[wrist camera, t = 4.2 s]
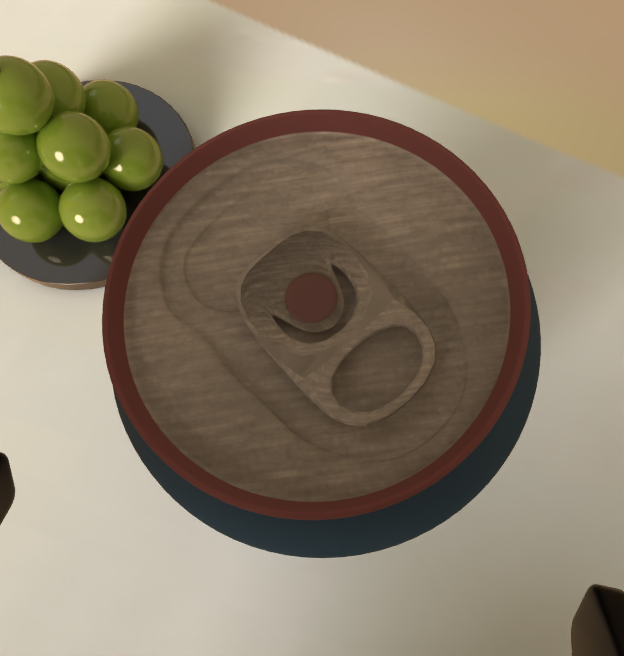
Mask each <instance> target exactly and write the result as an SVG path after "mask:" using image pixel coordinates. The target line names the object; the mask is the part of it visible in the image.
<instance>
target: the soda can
mask: <svg viewBox="0 0 624 656" xmlns="http://www.w3.org/2000/svg"><path fill="white" fill-rule="evenodd" d="M102 334H103V345H104V352H105V358H106V363H107V368H108V371H109V375H110V378H111V382H112V384H113V389H114V395H115V400H116V403H117V407H118V411H119V414H120V417H121V420H122V422H123V425H124V428H125V430H126V432H127V434H128V436H129V439H130V441H131V443H132V445H133V447H134V448H135V450H136V452H137V453H138V455H139V457H140V458H141V460H142V462H143V463H144V464H145V466H146V467H147V469H148V470H149V471H150V473H151V474H152V476H153V477H154V478H155V479H156V480H157V481H158V483H159V484H160V485H161V486H162V487H163V489H164V490H165V491H166V492H167V493H168V494H169V495H170V496H171V497H172V498H173V499H174V500H175V501H176V502H178V503H179V504H180V505H181V506H182V507H183V508H185V509H186V510H187V511H188V512H189V513H191V514H192V515H193V516H195V517H196V518H198V519H199V520H200V521H202V522H203V523H205V524H206V525H208V526H210V527H211V528H213V529H215V530H216V531H218V532H220V533H222V534H224V535H226V536H228V537H230V538H232V539H234V540H237V541H239V542H242V543H244V544H247V545H250V546H252V547H256V548H259V549H262V550H266V551H269V552H274V553H279V554H284V555H290V556H298V557H310V558H334V557H347V556H354V555H361V554H366V553H370V552H375V551H379V550H383V549H386V548H389V547H392V546H396V545H398V544H401V543H403V542H406V541H408V540H411V539H413V538H415V537H417V536H419V535H421V534H423V533H425V532H427V531H429V530H431V529H433V528H434V527H436V526H438V525H439V524H441V523H443V522H444V521H446V520H447V519H449V518H450V517H451V516H453V515H454V514H455V513H457V512H458V511H459V510H461V509H462V508H463V507H464V506H466V505H467V504H468V503H469V502H470V501H471V500H472V499H473V498H475V497H476V496H477V495H478V494H479V493H480V492H481V490H482V489H483V488H484V487H485V486H486V485H487V484H488V483H489V482H490V481H491V479H492V478H493V477H494V476H495V474H496V473H497V472H498V471H499V470H500V468H501V467H502V465H503V464H504V462H505V461H506V459H507V458H508V456H509V455H510V453H511V451H512V449H513V448H514V446H515V444H516V442H517V441H518V439H519V437H520V434H521V432H522V430H523V428H524V426H525V423H526V421H527V418H528V415H529V412H530V409H531V407H532V403H533V399H534V395H535V391H536V387H537V381H538V375H539V367H540V356H541V336H540V323H539V316H538V310H537V304H536V300H535V296H534V292H533V288H532V285H531V282H530V279H529V276H528V274H527V269H526V265H525V261H524V257H523V253H522V250H521V247H520V244H519V241H518V239H517V236H516V234H515V232H514V229H513V227H512V225H511V223H510V221H509V219H508V217H507V215H506V214H505V212H504V210H503V208H502V207H501V205H500V204H499V202H498V201H497V199H496V198H495V196H494V195H493V194H492V192H491V191H490V190H489V188H488V187H487V186H486V185H485V183H484V182H483V181H482V180H481V179H480V178H479V177H478V176H477V174H476V173H475V172H474V171H473V170H472V169H470V168H469V167H468V166H467V165H466V164H465V163H464V162H463V161H462V160H461V159H459V158H458V157H457V156H456V155H454V154H453V153H452V152H451V151H449V150H448V149H446V148H445V147H443V146H442V145H441V144H439V143H438V142H436V141H434V140H432V139H431V138H429V137H427V136H426V135H424V134H422V133H420V132H418V131H416V130H414V129H411V128H409V127H407V126H404V125H402V124H399V123H397V122H394V121H390V120H387V119H384V118H381V117H377V116H373V115H369V114H363V113H358V112H351V111H342V110H302V111H292V112H286V113H280V114H275V115H271V116H267V117H263V118H259V119H256V120H253V121H250V122H247V123H244V124H242V125H239V126H236V127H234V128H232V129H230V130H227V131H225V132H223V133H221V134H219V135H217V136H215V137H214V138H212V139H210V140H208V141H206V142H205V143H203V144H202V145H200V146H199V147H197V148H195V149H194V150H193V151H191V152H190V153H189V154H187V155H186V156H185V157H183V158H182V159H181V160H179V161H178V162H177V163H176V164H175V165H174V166H173V167H171V168H170V169H169V170H168V171H167V172H166V173H165V174H164V175H163V176H162V177H161V178H160V179H159V180H158V181H157V182H156V184H155V185H154V186H153V187H152V188H151V189H150V190H149V192H148V193H147V194H146V196H145V197H144V198H143V200H142V201H141V202H140V204H139V205H138V207H137V208H136V210H135V211H134V213H133V214H132V216H131V218H130V220H129V221H128V223H127V225H126V227H125V229H124V231H123V233H122V235H121V237H120V239H119V242H118V244H117V247H116V249H115V252H114V255H113V258H112V261H111V265H110V268H109V271H108V276H107V281H106V286H105V292H104V300H103V314H102Z"/></svg>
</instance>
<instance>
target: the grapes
mask: <svg viewBox="0 0 624 656" xmlns="http://www.w3.org/2000/svg"><path fill="white" fill-rule="evenodd" d="M195 148H196V146H195V143H194V141H193V139H192V137H191V134H190V132H189V130H188V128H187V126H186V124H185V123H184V121H183V120H182V118H181V117H180V115H179V114H178V113H177V112H176V111H175V110H174V109H173V108H172V106H171V105H169V104H168V103H167V102H166V101H164V100H163V99H162V98H161V97H159V96H157V95H156V94H154V93H152V92H151V91H149V90H146V89H144V88H142V87H139V86H136V85H133V84H129V83H125V82H119V81H112V80H106V79H101V80H95V81H84V82H80V80H79V78H78V77H77V76H76V75H75V74H74V73H73V72H72V71H71V70H70V69H69V68H67V67H66V66H64V65H62V64H60V63H57V62H54V61H49V60H38V61H34V62H31V63H30V62H29V61H27V60H25V59H22V58H19V57H16V56H9V55H4V56H0V259H1V260H2V261H3V262H4V263H5V264H6V265H8V266H9V267H10V268H12V269H13V270H14V271H16V272H18V273H19V274H21V275H22V276H24V277H26V278H28V279H30V280H32V281H34V282H36V283H39V284H42V285H45V286H48V287H53V288H58V289H67V290H84V289H94V288H99V287H104V286H106V281H107V276H108V271H109V268H110V265H111V261H112V258H113V255H114V252H115V249H116V247H117V244H118V242H119V239H120V237H121V235H122V233H123V231H124V229H125V227H126V225H127V223H128V221H129V220H130V218H131V216H132V214H133V213H134V211H135V210H136V208H137V207H138V205H139V204H140V202H141V201H142V200H143V198H144V197H145V196H146V194H147V193H148V192H149V190H150V189H151V188H152V187H153V186H154V185H155V184H156V182H157V181H158V180H159V179H160V178H161V177H162V176H163V175H164V174H165V173H166V172H167V171H168V170H169V169H170V168H171V167H173V166H174V165H175V164H176V163H177V162H178V161H179V160H181V159H182V158H183V157H185V156H186V155H187V154H189V153H190V152H191V151H193V150H194V149H195Z"/></svg>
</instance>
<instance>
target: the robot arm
mask: <svg viewBox="0 0 624 656" xmlns="http://www.w3.org/2000/svg"><path fill="white" fill-rule="evenodd" d="M14 497H15V486H14V482H13V477H12V473H11V469H10V464H9V460H8V458H7V456H6V455H5V454H4V453H1V452H0V525H1V523H2V521H3V519H4V518H5V516H6V514H7V512H8V511H9V509H10V507H11V505H12V503H13V500H14ZM571 644H572V656H624V592H623V591H622V590H620V589H616V588H612V587H607V586H603V585H598V584H594V585H592V586H590V587H589V589H588V590H587V592H586V594H585V596H584V598H583V600H582V602H581V604H580V606H579V608H578V610H577V612H576V614H575V616H574V619H573V622H572V627H571Z"/></svg>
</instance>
